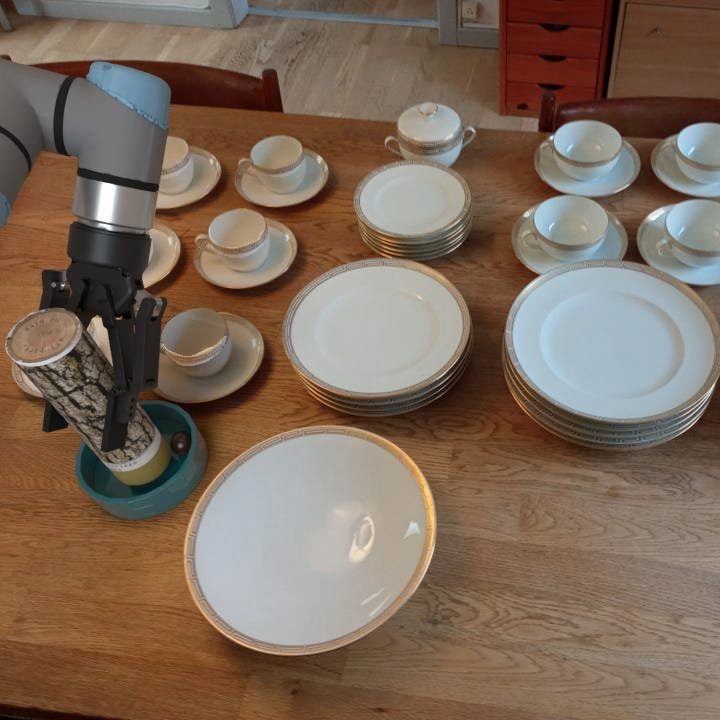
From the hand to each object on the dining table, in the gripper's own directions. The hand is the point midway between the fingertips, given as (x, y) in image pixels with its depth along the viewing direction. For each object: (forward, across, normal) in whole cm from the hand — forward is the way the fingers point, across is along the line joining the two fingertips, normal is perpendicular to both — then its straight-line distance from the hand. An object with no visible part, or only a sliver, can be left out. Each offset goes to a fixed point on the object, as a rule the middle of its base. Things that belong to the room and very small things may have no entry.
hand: (83, 438), depth 78 cm
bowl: (+7, +1, -13) cm, 15 cm away
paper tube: (+6, 0, -11) cm, 12 cm away
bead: (+3, -3, -14) cm, 14 cm away
